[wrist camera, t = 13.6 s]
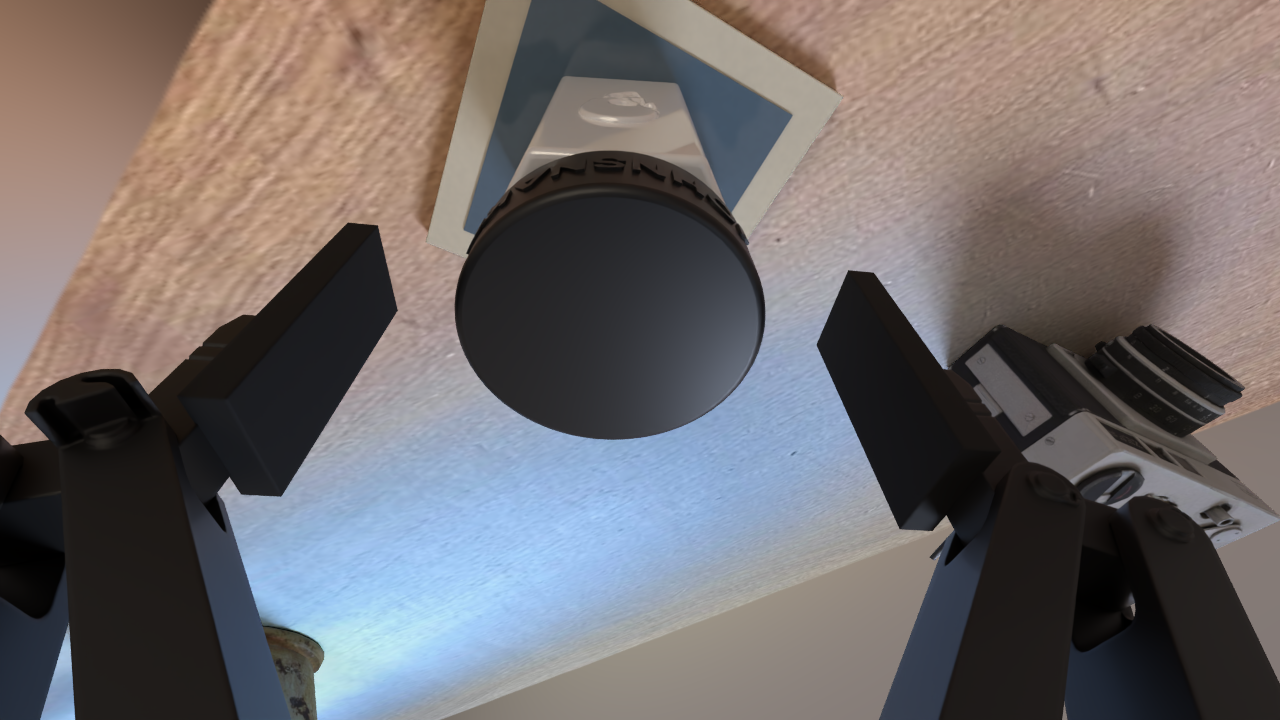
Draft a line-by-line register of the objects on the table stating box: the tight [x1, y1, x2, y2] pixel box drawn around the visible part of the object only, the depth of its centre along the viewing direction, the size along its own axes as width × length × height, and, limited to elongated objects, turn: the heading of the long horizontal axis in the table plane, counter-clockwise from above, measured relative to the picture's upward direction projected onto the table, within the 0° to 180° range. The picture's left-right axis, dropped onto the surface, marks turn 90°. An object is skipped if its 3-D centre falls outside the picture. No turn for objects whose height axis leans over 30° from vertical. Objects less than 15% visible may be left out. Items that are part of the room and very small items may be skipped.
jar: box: [455, 76, 765, 440], centre depth 18 cm, size 9×8×12 cm
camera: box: [948, 324, 1280, 549], centre depth 28 cm, size 14×9×10 cm, turn 57°
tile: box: [426, 0, 843, 259], centre depth 23 cm, size 14×14×1 cm
